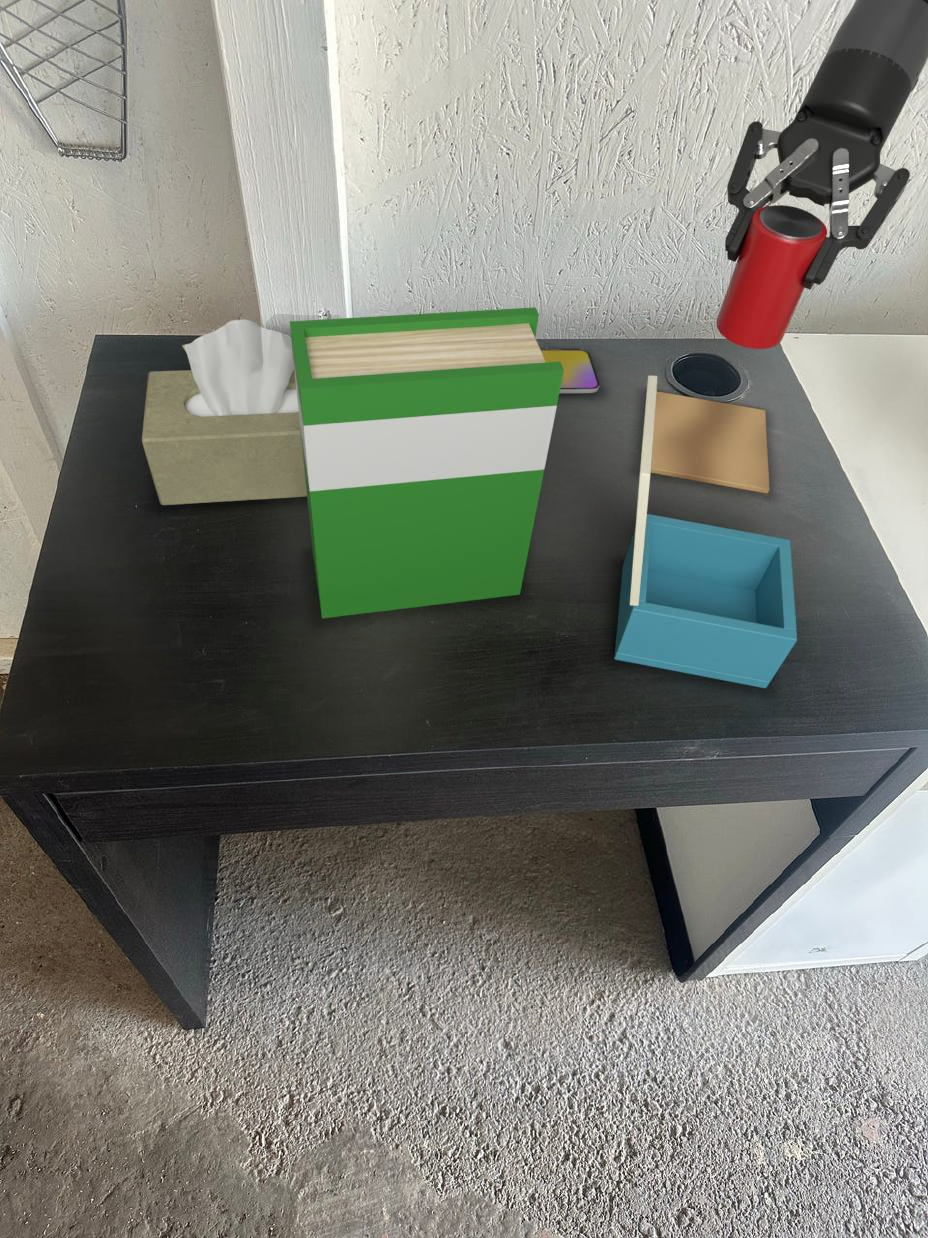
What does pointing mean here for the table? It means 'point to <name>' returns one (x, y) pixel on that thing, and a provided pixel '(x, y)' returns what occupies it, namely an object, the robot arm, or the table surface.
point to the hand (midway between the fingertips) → (769, 270)
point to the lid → (643, 489)
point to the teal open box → (709, 602)
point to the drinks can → (770, 275)
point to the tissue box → (226, 420)
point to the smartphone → (574, 370)
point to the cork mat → (710, 442)
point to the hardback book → (422, 454)
